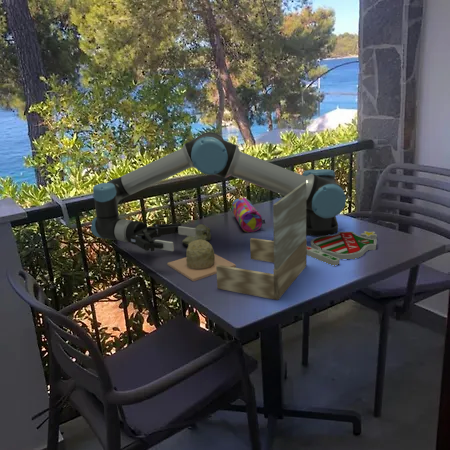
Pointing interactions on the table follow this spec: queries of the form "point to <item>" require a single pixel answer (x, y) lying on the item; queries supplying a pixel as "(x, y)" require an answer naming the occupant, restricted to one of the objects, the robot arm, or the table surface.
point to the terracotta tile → (198, 273)
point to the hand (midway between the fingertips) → (184, 239)
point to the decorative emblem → (341, 246)
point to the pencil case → (247, 215)
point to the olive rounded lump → (200, 254)
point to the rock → (199, 235)
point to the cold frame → (274, 252)
